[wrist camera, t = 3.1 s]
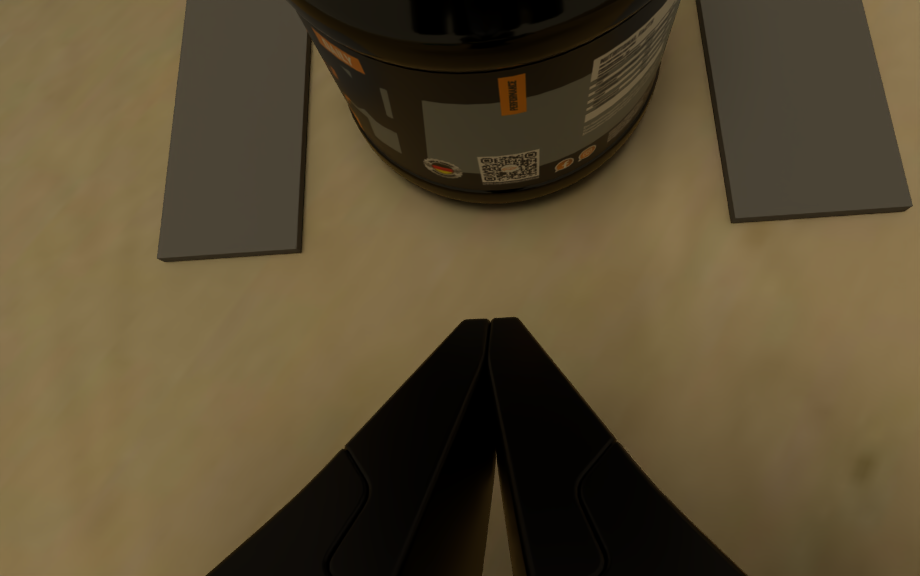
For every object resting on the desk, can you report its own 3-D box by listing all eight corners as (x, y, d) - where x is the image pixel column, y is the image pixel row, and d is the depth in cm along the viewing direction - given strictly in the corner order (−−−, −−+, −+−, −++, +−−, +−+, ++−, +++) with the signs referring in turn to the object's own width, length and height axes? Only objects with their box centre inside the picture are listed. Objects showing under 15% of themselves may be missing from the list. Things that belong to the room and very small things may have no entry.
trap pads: (904, 211, 17) (912, 206, 17) (164, 261, 20) (157, 258, 20) (833, -81, 20) (839, -91, 20) (193, -1, 23) (187, -8, 23)
